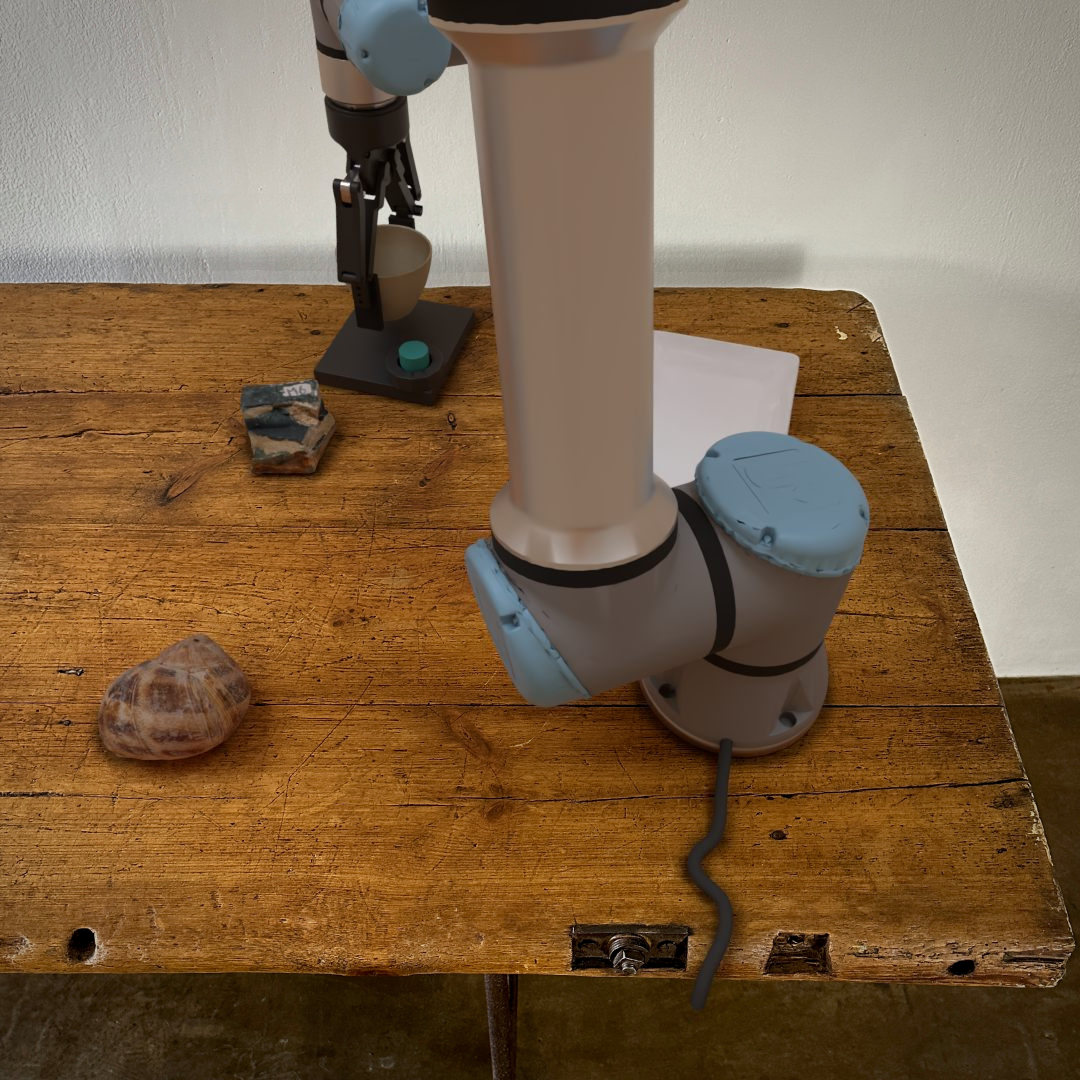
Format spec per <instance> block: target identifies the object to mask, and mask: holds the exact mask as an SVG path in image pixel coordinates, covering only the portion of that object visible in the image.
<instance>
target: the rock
mask: <svg viewBox="0 0 1080 1080" xmlns="http://www.w3.org/2000/svg"><path fill="white" fill-rule="evenodd" d="M319 388H320V383H318V381H317V380H315V378H311V379H310V378H309V379H304V380H301V381H300V380H299V381H290V382H284V383H272V384H269V383H268V384H255V385H250V384H249V385H246V386H244V387H242V388H241V393H240V394H241V395H240V413H241V414H242V418H243V422H244V425H245V428H246V431H247V435H248V437H249V440H250V444H251V446H250V448H251V451H252V453H253V457H252V458H251V459H252V460H251V462H250V469H249V474H250V475H252V474H255V473H256V474H257V475H262V474H264V473H266V474H269V475H270V474H287V475H288V474H313V473H314V472H316V470H317V466H318V464H319V461H320V460H321V458H322V457H323V455H324V454H325V452H326V448H327V446H328V444H329V443H330V441H331V438H332V437H333V436H334V433H335V432H336V431H337V430H338V429H337V426H336V419H335V418H334V416H333V415H332V414H331V413H330V411H329V410H328V409H326V406H325V402H324V399H323V398H322V395H321V392H320V389H319Z"/></svg>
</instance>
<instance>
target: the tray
mask: <svg viewBox="0 0 1080 1080" xmlns="http://www.w3.org/2000/svg"><path fill="white" fill-rule="evenodd" d="M800 363H801V362H800V357H799V356H798V355H797V354H796V353H795V354H794V353H792V352H787V351H782V350H776V349H772V348H764V347H759V346H753V345H747V344H741V343H736V342H729V341H725V340H718V339H714V338H713V339H712V338H706V337H701V336H695V335H689V334H684V333H678V332H671V331H664V330H658V329H654V347H653V473H655V474H656V475H658V476H659V477H660V478H661V479H663V480H664V481H665V482H666V483H667V484H668V485H669V486H670V488H672V487H675V486H678V485H682V484H685V483H689V482H691V481H693V480H695V477H694V475H695V470H696V466H697V464H698V463H699V462H700V461H701V460H702V459H703V457H704V456H705V454H706V452H707V450H708V449H709V448H710V447H711V446H712V445H713V444H715V443H716V442H717V441H719V440H721V439H723V438H725V437H727V436H730V435H733V434H737V433H742V432H752V431H765V432H774V433H780V434H784V435H789V431H790V425H791V424H790V423H791V418H792V412H793V405H794V399H795V392H796V387H797V383H798V382H797V380H798V377H799V370H800Z"/></svg>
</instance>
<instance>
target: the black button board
mask: <svg viewBox="0 0 1080 1080" xmlns="http://www.w3.org/2000/svg"><path fill="white" fill-rule="evenodd" d="M383 321H384V320H383ZM475 323H476V310H475V308H470V307H464V306H460V305H459V306H458V305H452V304H447V303H443V302H437V301H431V300H425V299H420V298H419V300H418V302H417V304H416V305H415V307H414V308H413V310H412V311H411V312H410V313H409V314H408V315H407V316H405V317H403V318H401V319H398V320H392V321H384V329H383V330H382V332H380V331H375V330H370V329H364V328H359V327H357V321H356V315H355V308H354V307H353V309H352V311H351V313H350V314H349V316H348V317H347V319H346V320H345V322H344V323H343V325H342V326H341V328H340V329H339V331H338V332H337V334H336V335H335V337H334V339H333V340H332V341H331V343H330V344H329V346H328V347H327V349H326V350H325V352H324V354H323V355H322V356H321V358H320V359H319V361H318V362H317V364H316V366H315V367H314V369H313V370H312V371H313V375H314V376H313V377H314V380H317V381H318V383H319V385H326V386H331V387H336V388H340V389H346V390H351V391H355V392H361V393H366V394H371V395H374V396H375V395H377V396H381V397H385V398H386V397H387V398H391V399H396V400H402V401H406V402H410V403H416V404H421V405H426V406H430V407H431V406H433V404H434V402H435V400H436V398H437V396H438V395H439V393H440V391H441V389H442V386H443V384H444V383H445V381H446V379H447V376H448V375H449V373H450V371H451V369H452V368H453V365H454V363H455V362H456V359H457V357H458V356H459V354H460V352H461V350H462V348H463V346H464V344H465V343H466V340H467V339H468V336H469V335H470V332H471V330H472V329H473V327H474V326H475ZM409 341H420V342H423V343H424V344H426V345H427V347H428V352H429V365H428V367H427V368H426V369H424V370H422V371H415V372H411V371H406V370H404V369H403V368H402V367H401V365H400V357H399V348H400V346H401V345H402V344H404V343H406V342H409Z"/></svg>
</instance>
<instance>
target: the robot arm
mask: <svg viewBox="0 0 1080 1080" xmlns="http://www.w3.org/2000/svg"><path fill="white" fill-rule="evenodd" d="M689 1H690V0H309V5H310V10H311V18H312V25H313V30H314V38H315V47H316V55H317V56H316V57H317V63H318V71H319V78H320V85H321V91H322V92H323V93H324V94H325V96H324V97H323V102H324V103H323V104H324V110H325V115H326V116H325V117H326V122H327V123H326V124H327V129H328V134H329V136H330V138H331V139H332V140H333V141H334V142H335V143H336V144H338V145H339V146H340V147H341V148H343V150H344V151H345V153H346V156H345V157H346V162H345V173H346V176H345V177H344V178H334V179H333V181H332V183H331V184H332V186H331V187H332V193H333V198H334V199H333V200H334V204H335V236H336V237H335V239H336V245H337V262H336V277H337V278H336V279H337V282H338V283H342V284H345V283H348V284H351V288H352V294H351V296H352V301H353V309H354V308H355V315H356V321H357V327H359V328H364V329H370V330H375V331H380V332H382V330H383V329H384V321H383V313H382V305H381V297H380V289H379V281H378V274H375V273H373V268H374V257H375V245H376V234H377V225H378V222H379V221H378V220H379V211H380V210H382V209H383V208H384V206H385V201H386V202H387V205H388V207H389V208H390V211H391V214H389V216H388V217H387V222H388V224H393V225H401V226H406V227H409V228H412V229H415V230H416V219H415V218H416V217H422V216H423V212H424V206H423V205H421V204H416V202H421V199H422V195H423V193H422V188H421V184H420V179H419V174H418V170H417V166H416V161H415V157H414V152H413V147H412V143H411V135H410V128H411V126H410V125H411V124H410V115H409V114H410V113H409V101H408V97H410V96H415V95H418V94H420V93H422V92H424V91H425V90H426V89H428V88H429V87H430V86H431V85H433V84H434V83H437V82H438V81H439V79H440V78H441V77H442V75H443V74H444V73H445V71H446V70H447V68H451V67H457V66H458V67H459V66H462V65H467V71H468V81H469V91H470V102H471V110H472V121H473V129H474V130H473V131H474V141H475V149H476V159H477V169H478V179H479V188H480V198H481V208H482V209H481V210H482V217H483V227H484V228H483V229H484V235H485V236H484V237H485V247H486V257H487V268H488V276H489V286H490V296H491V307H492V316H493V325H494V326H493V327H494V335H495V344H496V355H497V365H498V374H499V375H498V376H499V383H500V393H501V395H500V396H501V403H502V413H503V422H504V423H503V424H504V433H505V442H506V452H507V453H506V454H507V462H508V472H509V480H508V481H507V482H506V483H505V484H503V486H502V487H500V489H499V490H498V492H496V494H495V496H494V497H493V499H492V501H491V503H490V507H489V527H490V535H491V538H489V539H487V538H478V540H477V541H476V542H475V543H473V544H471V545H469V546H467V549H466V550H465V551H464V564H465V569H466V573H467V576H468V581H469V583H470V586H471V588H472V592H473V595H474V597H475V600H476V603H477V605H478V608H479V611H480V614H481V617H482V619H483V621H484V623H485V626H486V628H487V631H488V633H489V636H490V637H491V640H492V642H493V645H494V647H495V650H496V651H497V654H498V656H499V658H500V660H501V662H502V664H503V666H504V668H505V670H506V673H507V674H508V676H509V678H510V680H511V682H512V683H513V686H514V687H515V689H516V690H517V692H518V693H519V695H521V697H522V698H523V699H524V700H525V701H526V702H528V703H529V704H531V705H534V706H537V707H541V708H553V707H556V706H560V705H565V704H569V703H572V702H576V701H577V702H578V701H580V700H586V701H588V700H589V699H593V698H594V696H597V695H600V694H603V693H606V692H609V691H611V690H614V689H617V688H620V687H623V686H625V685H629V684H631V683H634V682H637V681H638V683H639V688H640V690H641V693H642V695H643V698H644V700H645V701H646V703H647V706H648V707H649V708H650V710H651V712H652V713H653V714H654V716H655V717H656V718H657V719H658V720H659V721H660V722H661V723H662V724H663V725H664V727H666V728H667V729H668V730H669V731H670V732H671V733H673V734H674V735H675V736H677V737H678V738H679V739H682V740H683V741H685V742H687V743H688V744H690V745H693V746H695V747H697V748H699V749H702V750H704V751H707V752H710V753H713V754H716V755H718V757H717V765H716V766H717V767H716V774H715V782H714V794H713V795H714V797H713V799H714V800H713V816H712V822H711V825H710V827H709V831H708V833H707V834H706V836H705V837H703V839H701V840H699V842H698V843H696V844H695V845H694V846H693V847H692V848H691V850H690V851H689V854H688V857H687V872H688V875H689V877H690V879H691V880H692V882H693V883H694V884H695V885H696V886H697V887H698V889H700V890H701V892H703V893H704V894H705V895H706V896H708V898H710V899H711V900H712V901H713V903H714V904H715V906H716V907H717V908H716V909H717V912H718V928H717V932H716V934H715V937H714V939H713V941H712V944H711V946H710V947H709V950H708V952H707V954H706V955H705V957H704V960H703V961H702V964H701V965H700V967H699V971H698V973H697V976H696V979H695V982H694V985H693V989H692V992H691V995H690V1005H691V1007H692V1009H693V1010H695V1011H697V1012H700V1011H702V1010H704V1008H705V1006H706V1003H707V999H708V996H709V992H710V989H711V985H712V982H713V980H714V978H715V975H716V973H717V971H718V969H719V966H720V965H721V963H722V960H723V958H724V957H725V955H726V952H727V950H728V948H729V945H730V942H731V939H732V935H733V929H734V911H733V907H732V903H731V900H730V898H729V896H728V895H727V893H726V892H725V891H724V890H723V888H721V886H719V885H718V884H717V883H716V882H714V881H713V880H712V879H711V878H710V877H709V876H708V875H707V873H705V871H704V870H703V868H702V861H703V859H704V858H705V857H706V856H707V855H709V854H710V853H711V852H712V851H713V850H714V849H715V848H716V847H717V846H718V845H719V844H720V842H721V840H722V838H723V836H724V833H725V829H726V825H727V819H728V818H727V817H728V795H729V782H730V773H731V763H732V757H735V758H736V757H737V758H751V757H759V756H765V755H769V754H773V753H776V752H778V751H781V750H784V749H785V748H788V747H790V746H791V745H793V744H794V743H796V742H798V741H799V740H800V739H801V738H802V737H804V736H805V734H807V732H808V731H810V729H811V728H812V726H813V725H814V724H815V722H816V721H817V718H818V717H819V714H820V712H821V710H822V708H823V705H824V703H825V700H826V697H827V692H828V687H829V686H828V685H829V675H830V673H829V663H828V656H827V655H828V654H827V647H826V639H825V638H826V635H827V634H828V632H829V629H830V627H831V625H832V622H833V620H834V617H835V616H836V613H837V611H838V608H839V606H840V605H841V604H840V603H841V601H842V599H843V597H844V595H845V592H846V590H847V588H848V586H849V583H850V582H851V581H850V580H851V578H852V576H853V574H854V571H855V570H856V568H857V567H858V566H859V565H860V562H861V559H862V558H863V554H864V553H863V552H864V543H865V541H866V537H867V535H868V531H869V527H870V521H871V516H870V515H871V513H870V511H871V510H870V507H869V506H870V505H869V502H868V499H867V496H866V494H865V492H864V491H865V490H864V489H863V487H862V485H861V484H860V482H859V481H858V480H857V477H856V476H855V475H854V474H853V473H852V472H851V471H850V470H849V468H848V467H846V465H844V464H843V463H842V462H841V461H840V460H839V459H838V458H837V457H835V456H833V455H832V454H830V453H829V452H828V451H826V450H825V449H823V448H821V447H820V446H817V445H815V444H813V443H808V442H805V441H802V440H800V439H799V438H798V437H795V436H792V435H789V434H788V435H784V434H780V433H774V432H765V431H752V432H742V433H737V434H733V435H730V436H727V437H725V438H723V439H721V440H719V441H717V442H716V443H715V444H713V445H712V446H711V447H710V448H709V449H708V450H707V452H706V454H705V456H704V457H703V459H702V460H701V461H700V462H699V463H698V464H697V466H696V470H695V475H694V477H695V480H693V481H691V482H689V483H685V484H682V485H678V486H675V487H672V488H670V486H669V485H668V484H667V483H666V482H665V481H664V480H663V479H661V478H660V477H659V476H658V475H656V474H655V473H653V347H654V330H655V329H654V327H655V325H654V319H655V318H654V315H655V313H654V309H655V307H654V306H655V305H654V304H655V303H654V297H655V296H654V295H655V294H654V293H655V291H654V290H655V289H654V288H655V287H654V286H655V285H654V284H655V283H654V282H655V281H654V280H655V273H654V271H655V269H654V268H655V266H654V265H655V47H656V44H657V42H658V40H659V38H660V36H661V35H662V34H663V33H664V32H665V31H666V29H667V28H668V27H669V26H670V25H671V24H672V22H673V21H674V20H675V19H676V18H677V17H678V16H679V15H680V13H682V11H683V10H684V9H685V8H686V7H687V5H688V3H689ZM366 196H372V197H374V198H373V199H372V198H366ZM392 213H395V214H392ZM414 217H415V218H414Z"/></svg>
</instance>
